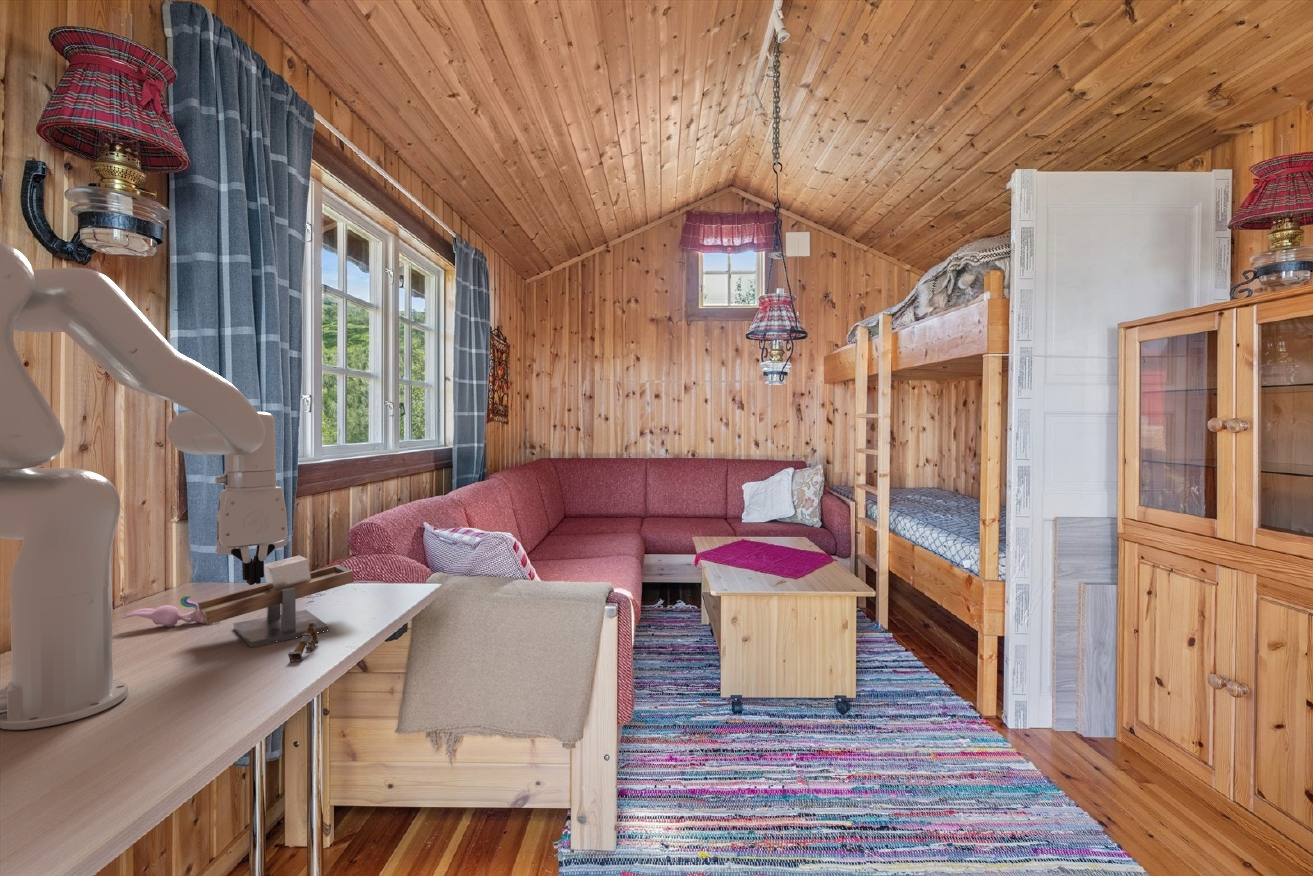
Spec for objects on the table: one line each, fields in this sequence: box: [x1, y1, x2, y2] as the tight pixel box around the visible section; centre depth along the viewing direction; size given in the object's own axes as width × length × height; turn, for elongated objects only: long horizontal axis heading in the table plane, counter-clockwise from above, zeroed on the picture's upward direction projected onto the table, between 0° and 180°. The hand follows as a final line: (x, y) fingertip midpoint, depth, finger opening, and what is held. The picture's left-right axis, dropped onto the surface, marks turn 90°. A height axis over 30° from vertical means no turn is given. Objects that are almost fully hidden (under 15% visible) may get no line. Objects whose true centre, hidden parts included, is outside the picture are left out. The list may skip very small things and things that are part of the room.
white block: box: [264, 555, 311, 592], centre depth 112 cm, size 6×5×5 cm
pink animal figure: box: [121, 594, 208, 628], centre depth 114 cm, size 6×6×15 cm
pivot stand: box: [233, 587, 330, 648], centre depth 111 cm, size 12×14×8 cm
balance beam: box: [197, 564, 355, 625], centre depth 111 cm, size 23×8×2 cm, turn 135°
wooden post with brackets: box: [287, 621, 320, 662], centre depth 100 cm, size 2×8×4 cm, turn 7°
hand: (253, 582), depth 109 cm, fingers closed
